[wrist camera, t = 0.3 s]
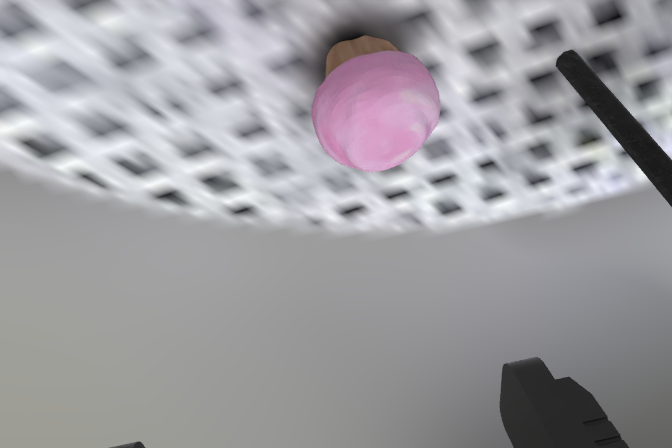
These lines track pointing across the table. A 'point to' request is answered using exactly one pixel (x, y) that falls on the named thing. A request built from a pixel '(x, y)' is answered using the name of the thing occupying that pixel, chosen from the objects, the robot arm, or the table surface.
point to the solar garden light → (619, 122)
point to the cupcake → (374, 104)
